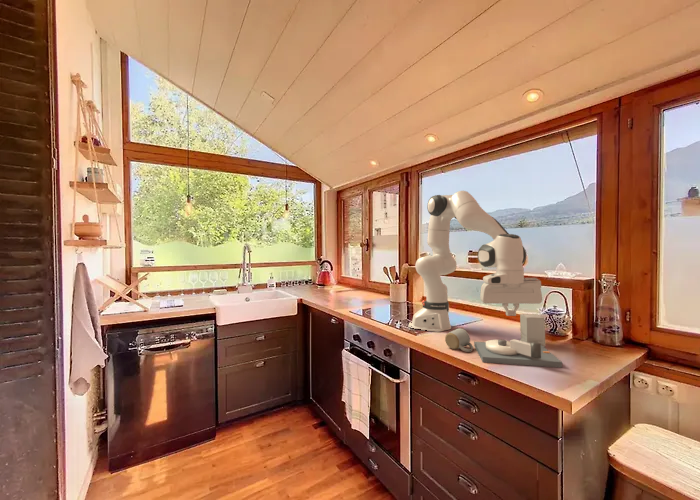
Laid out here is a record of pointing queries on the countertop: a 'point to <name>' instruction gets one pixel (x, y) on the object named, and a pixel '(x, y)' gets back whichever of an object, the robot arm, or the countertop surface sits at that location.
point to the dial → (514, 347)
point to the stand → (517, 357)
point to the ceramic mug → (458, 340)
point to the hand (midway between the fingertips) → (510, 315)
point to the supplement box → (532, 328)
